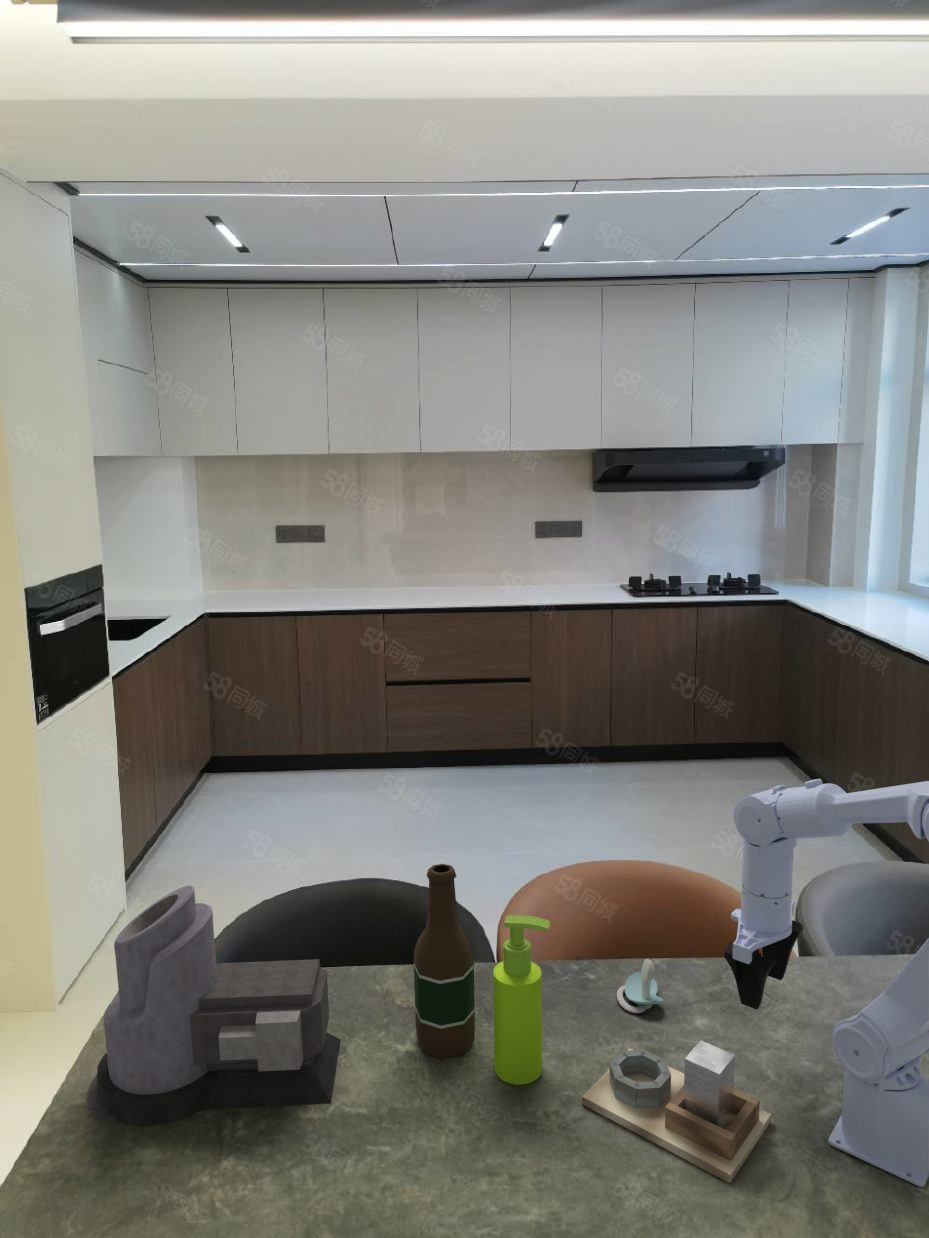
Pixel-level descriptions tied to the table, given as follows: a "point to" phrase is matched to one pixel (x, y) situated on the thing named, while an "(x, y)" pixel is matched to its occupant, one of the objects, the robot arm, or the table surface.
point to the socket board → (675, 1113)
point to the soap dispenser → (518, 1005)
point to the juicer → (207, 1025)
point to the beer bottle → (443, 973)
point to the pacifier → (640, 989)
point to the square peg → (709, 1084)
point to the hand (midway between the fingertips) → (762, 990)
